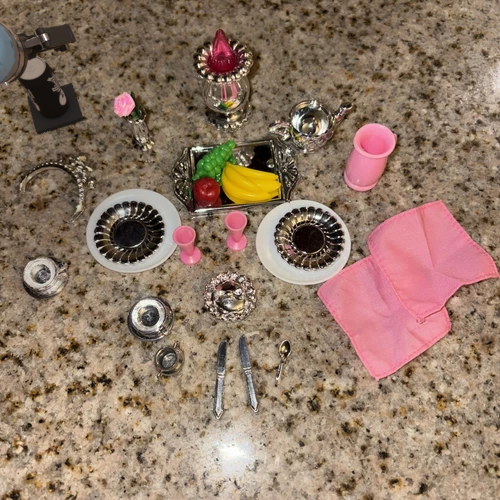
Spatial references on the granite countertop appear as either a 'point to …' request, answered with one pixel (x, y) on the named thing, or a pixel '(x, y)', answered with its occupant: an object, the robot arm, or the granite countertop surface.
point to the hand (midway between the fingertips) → (14, 57)
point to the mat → (66, 118)
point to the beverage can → (43, 88)
